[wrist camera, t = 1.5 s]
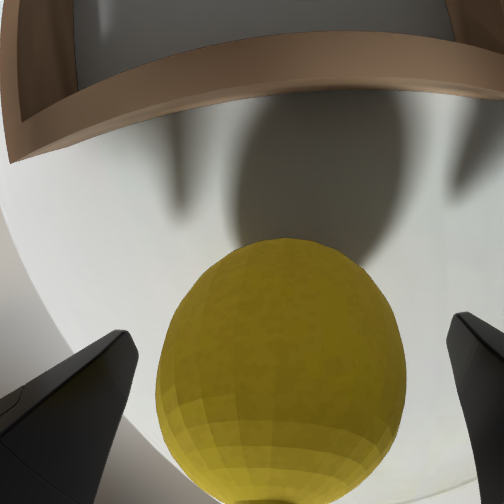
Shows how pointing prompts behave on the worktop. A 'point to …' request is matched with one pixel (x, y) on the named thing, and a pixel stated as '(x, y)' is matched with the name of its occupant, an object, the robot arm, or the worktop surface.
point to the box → (226, 71)
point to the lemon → (281, 376)
